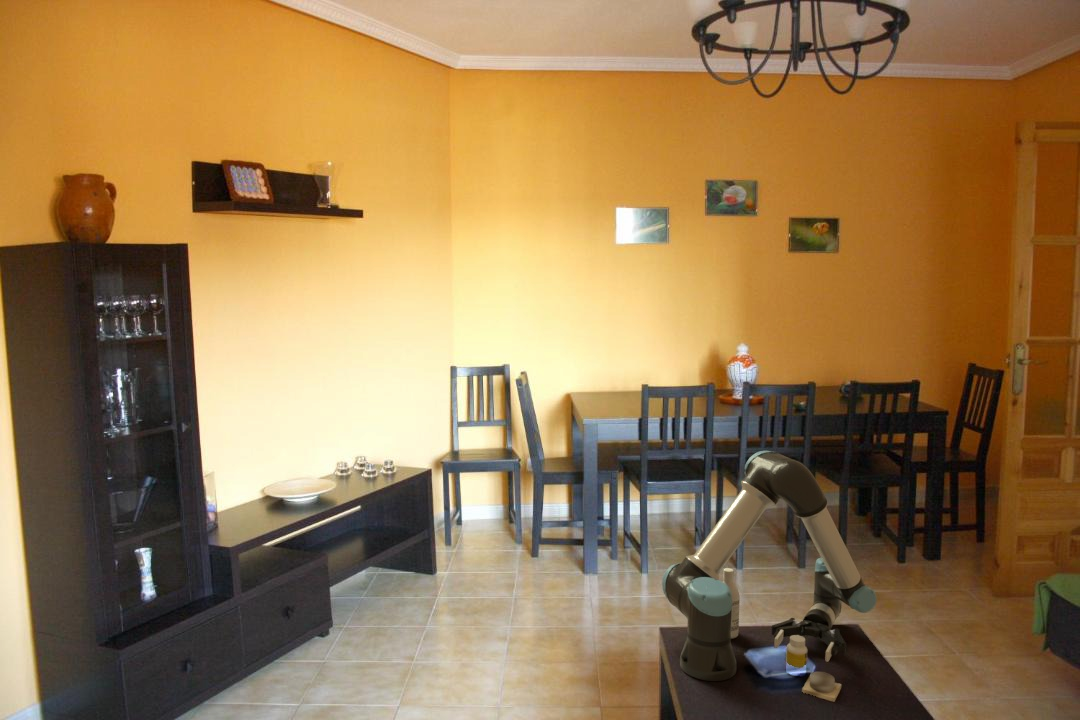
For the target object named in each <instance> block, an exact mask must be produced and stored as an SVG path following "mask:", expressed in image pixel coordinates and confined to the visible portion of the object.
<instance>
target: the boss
mask: <svg viewBox="0 0 1080 720" xmlns="http://www.w3.org/2000/svg"><path fill="white" fill-rule="evenodd" d="M841 689H842V684H841V683H838V682H836V681H835V677H834V675H831V673H828V672H825V671H813V672H811V673H810V675H809V676H808V678H807V679H806V682H805V683H804V686H803V687H802V688H801V693H802V692H803V694H805V693H806V695H808V694H810V695H809V696H812V695H813V697H815V696H816V698H819V699H821V700H822V699H824V700H826V701H830V702H834V703H835V702H836V700H837V697H838V695H839V694H840V691H841Z"/></svg>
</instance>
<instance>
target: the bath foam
mask: <svg viewBox="0 0 1080 720" xmlns="http://www.w3.org/2000/svg"><path fill="white" fill-rule="evenodd" d="M722 574H723V576H722V577H723V578H722V582H723V583H725V584H726V585H727V586H728V587H729V588H730V590H731V593H732V602H733V605H732V617H731V640H732V639H735V638H737V637H738V636H739V632H740V631H739V628H740V626H739V625H740V602H741V601H740V599H741V598H740V592H739V589H738V588H737V586H736V584H735V582H734V569H732V568H730V567H726V568H724V569H723V573H722Z"/></svg>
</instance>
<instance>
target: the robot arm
mask: <svg viewBox="0 0 1080 720" xmlns="http://www.w3.org/2000/svg"><path fill="white" fill-rule="evenodd" d="M740 484H741V490H740V492H739V493H738V494H737V496H736V497H735V499H734V500H733V501H732V503H731V504H730V505H729V507H728V508H727V510H726V511H725V512H724V514H723V515H722V516H721V517H720V519H719V520H718V522H717V523H716V525H715V526H714V527H713V528H712V529H711V531H710V533H709V534H708V535H707V537H706V538H705V539H704V540H703V542H702V544H700V546H699V547H698V549H697V550H696V552H695V553H694V554H692V555H686V556H685V557H684V559H683V560H682V561H681V562H677V563H674V564H672V565H670V566H669V567H668V568H667V569H666V571H665V572H664V574H663V577H662V581H661V582H662V583H661V586H662V591H663V594H664V596H665V597H666V599H667V600H668V601H669V603H670V605H672V606H674V607H675V608H676V609H677V610H678V611H679V612H680V613H681V614H682V615H683V616H684V617H686V619H687V628H686V629H687V631H686V632H687V635H686V639H685V642H684V645H683V648H682V650H681V653H680V656H679V665H680V669H681V670H682V671H683V672H684V673H685V674H687V675H688V676H690V677H693V678H695V679H698V680H702V681H707V682H720V681H721V682H722V681H725V680H726V681H727V680H729V679H731V678H733V677H734V676H735V675H736V674H737V659H736V657H735V653H734V650H733V646H732V642H731V640H732V639H731V617H732V605H733V602H732V593H731V590H730V588H729V587H728V586H727V585H726V584H725V583H723V580H720V576H719V574H720V572H721V571H722V570H723V568H724V567H725V565H727V563H728V561H729V560H730V559H731V557H732V556H733V555H734V553H735V552H736V551H737V549H738V548H739V546H741V543H742V542H743V541H744V539H746V537H747V536H748V534H749V532H750V531H751V530H752V528H753V527H754V526H755V524H756V523H757V522H758V520H760V517H761V516H762V514H763V513H764V512H765V511H766V510H767V508H769V507H770V508H771V507H776V505H778V502H779V501H780V500H782V501H783V502H785V503H786V504H787V505H788V506H789V507H790V508H791V510H792V512H793V513H794V515H795V517H797V518H800V519H801V521H802V522H803V525H804V527H805V529H806V530H807V533H808V535H809V537H810V539H811V540H812V542H813V545H814V546H815V548H816V551H817V552H818V555H819V558H817V559H816V561H815V566H814V567H815V568H814V583H813V584H814V585H813V586H814V588H813V589H814V590H813V600H812V601H813V603H812V605H811V607H810V609H808V611H807V613H806V615H805V616H804V618H803V619H802V620H801V621H796V619H795V617H790V618H789V619H788V620H785V621H782V622H777V623H775V624H773V625H771V635H773V640H774V644H773V647H774V649H778V648H779V646H780V645H781V643H782V642H783V641H784V638H785V637H787V638H788V637H790V636H792V635H799V636H802V637H804V636H807V637H813V638H817V639H819V640H820V641H821V642H822V643H823V642H824V643H825V644H826V645H827V648H826V650H825V656H824V659H825V660H824V661H825V662H826V663H827V662H829V661H830V659H831V658H832V656H836V655H837V654H838V652H841V653H843V654H844V653H845V654H846V652H847V642H845V639H844V638H843V636H842V634H841V633H840V631H841V630H840V628H838V627H836V628H834V629H832V627H833V625H834V624H835V622H836V620H837V619H838V617H839V616H840V614H841V612H842V607H843V604H842V603H844V604H845V605H847V606H848V607H850V608H851V609H852V610H855V611H857V612H859V613H863V614H865V613H869V612H870V611H872V610H873V609H874V608H875V607H876V605H877V600H878V597H877V594H876V592H875V590H873V589H872V588H871V587H870V586H868V585H866V584H865V582H864V580H863V579H862V577H861V575H860V572H859V571H858V568H857V567H856V565H855V562H854V561H853V558H852V557H851V554H850V552H849V550H848V548H847V546H846V544H845V543H844V541H843V538H842V536H841V534H840V533H839V530H838V529H837V526H836V524H835V522H834V519H833V517H832V516H831V514H830V512H829V510H828V508H827V507H828V504H829V503H828V499H827V498H826V495H825V493H824V492H823V489H822V488H821V486H820V485H819V482H818V481H817V479H816V477H815V476H814V474H813V473H812V472H811V471H810V469H809V468H808V467H807V466H806V465H804V463H802V462H800V461H798V460H796V459H792V458H790V457H787V456H785V455H783V454H781V453H779V452H776V451H770V450H760V451H757V452H756V453H754V454H752V455H751V456H750V457H749V458H748V460H747V461H746V463H745V465H744V478H742V480H741V482H740Z"/></svg>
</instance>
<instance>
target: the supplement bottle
mask: <svg viewBox="0 0 1080 720" xmlns="http://www.w3.org/2000/svg"><path fill="white" fill-rule="evenodd" d="M785 650H786V653H785V663H786V662H787V663H788V664H789V665H792V666H794V667H799V668H800V667H803V666H804V665H806V664H807V665H808V647H807V646H806V638H805V637H804V636H799V635H792V636H789V643H788V644H787V645H786V649H785Z"/></svg>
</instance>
